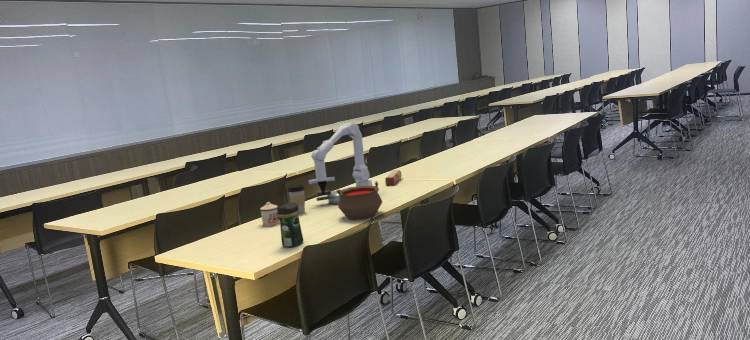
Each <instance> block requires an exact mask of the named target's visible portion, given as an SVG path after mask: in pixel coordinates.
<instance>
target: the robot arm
mask: <svg viewBox="0 0 750 340" xmlns="http://www.w3.org/2000/svg"><path fill="white" fill-rule="evenodd" d="M343 136H348V137H350V138H352V143H353V144H352V146H353V153H354V166H353V167H352V169H353V171H352V178H353V179H354V181H355V187H357V186H365V185H367V186H373V181H372V180H370V171H369V170H368V169H369V168H368V166H367V165H366V163H365V155H364V144H363V135H362V131H360V126H359V125H358V124H356V123H355V122H348V123H347V122H344V123H341V125H340V126H339V127H338V129H337V130H336V131H335V132H334V133H333V135H332V136H331V137H330V138H329V139H327V140H323V141H322V143H321V145H320V146H318V147H316V149H314V150H313V151H312V153H311V157H310V158H312V160H313V164H314V171H315V176H316V177H315V179H309V180H308V185H311V184H312V185H313V184H318V187H319V188H320V190H321V192H322V193H323V195H324V192H325V191H326V187H327V183H328V182H335V181H336V180H335V178H336V177H335V176H329V177H327V171H326V163H325V159H326V157H327V154H328V153H329V152H330V151H331V150H332V149H333V148H334V144H335V143H337V141H338V140H340V139H341V138H342V137H343ZM324 196H325V195H324Z"/></svg>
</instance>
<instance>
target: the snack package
mask: <svg viewBox="0 0 750 340" xmlns="http://www.w3.org/2000/svg"><path fill="white" fill-rule="evenodd" d="M401 178H402V170H400V169H393V170H391V172H390V173H389V174H388V175H387V176H386V177H385V179H384V181H385V182H384V183H385V186H386V187H393V186H395V185H396V184H397V183H398V182H399V180H401Z"/></svg>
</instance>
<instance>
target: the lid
mask: <svg viewBox="0 0 750 340" xmlns="http://www.w3.org/2000/svg"><path fill="white" fill-rule="evenodd" d="M337 191H338V189H337V190H325V192H324V195H323V193H322V191H316V192H315V196H316V198H318V197H324V196H328V197H340V195H339V194H338V192H337Z"/></svg>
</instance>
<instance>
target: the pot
mask: <svg viewBox="0 0 750 340" xmlns="http://www.w3.org/2000/svg"><path fill="white" fill-rule="evenodd" d="M339 198H340V197H328V196H327V195H324V196H319V197H316V198H315V199H316V201H317V202H318V201H326V200H327V201H328V205H330V206H331V205H332V206H335V205H337V206H338V202H339Z"/></svg>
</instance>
